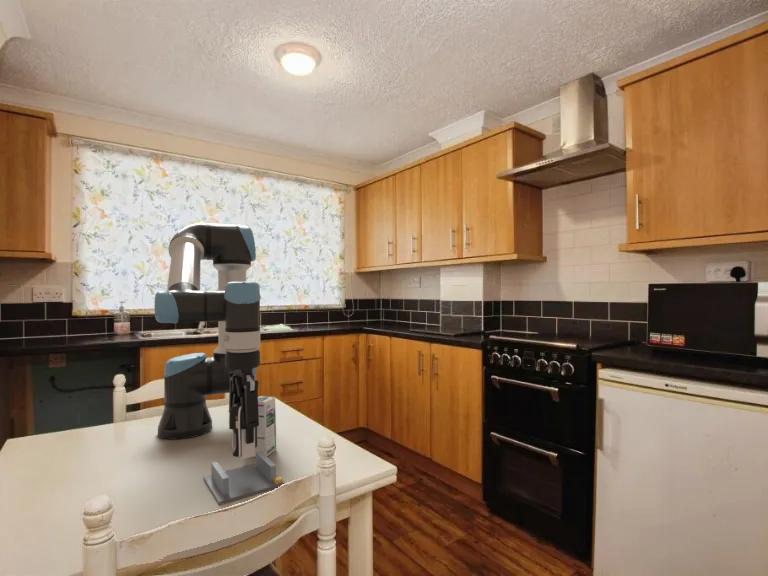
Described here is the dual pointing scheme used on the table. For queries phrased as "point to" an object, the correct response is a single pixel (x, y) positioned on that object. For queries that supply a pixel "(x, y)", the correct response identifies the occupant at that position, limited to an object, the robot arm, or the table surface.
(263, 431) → the syrup box
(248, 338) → the robot arm
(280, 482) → the dock
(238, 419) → the battery
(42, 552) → the table surface
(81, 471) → the table surface
